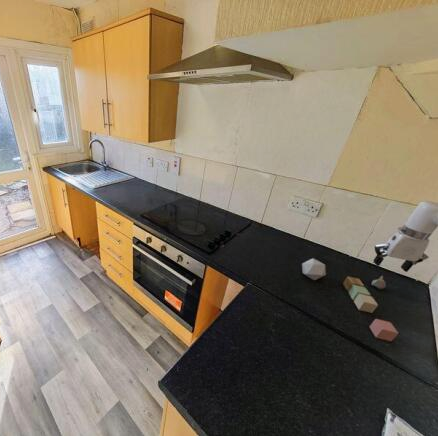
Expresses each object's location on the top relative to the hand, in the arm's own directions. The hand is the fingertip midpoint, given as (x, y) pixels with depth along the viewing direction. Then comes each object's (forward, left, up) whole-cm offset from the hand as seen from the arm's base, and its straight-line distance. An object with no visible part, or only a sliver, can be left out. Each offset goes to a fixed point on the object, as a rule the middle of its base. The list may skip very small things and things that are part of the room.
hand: (389, 266), depth 96 cm
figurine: (0, 0, -12) cm, 12 cm away
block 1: (+12, +6, -11) cm, 17 cm away
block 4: (+12, +29, -11) cm, 33 cm away
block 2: (+12, +11, -11) cm, 20 cm away
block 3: (+12, +17, -11) cm, 23 cm away
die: (+27, +3, -12) cm, 29 cm away
